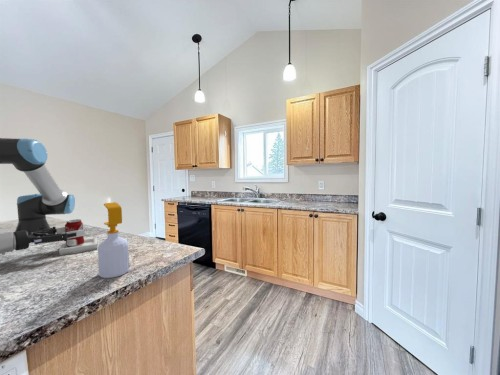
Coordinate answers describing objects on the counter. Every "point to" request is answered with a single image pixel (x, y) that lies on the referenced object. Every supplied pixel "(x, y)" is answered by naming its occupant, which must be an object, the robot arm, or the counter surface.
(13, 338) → the counter surface
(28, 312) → the counter surface
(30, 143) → the robot arm
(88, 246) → the square tray
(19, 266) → the counter surface
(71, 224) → the soda can
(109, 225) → the soap bottle
